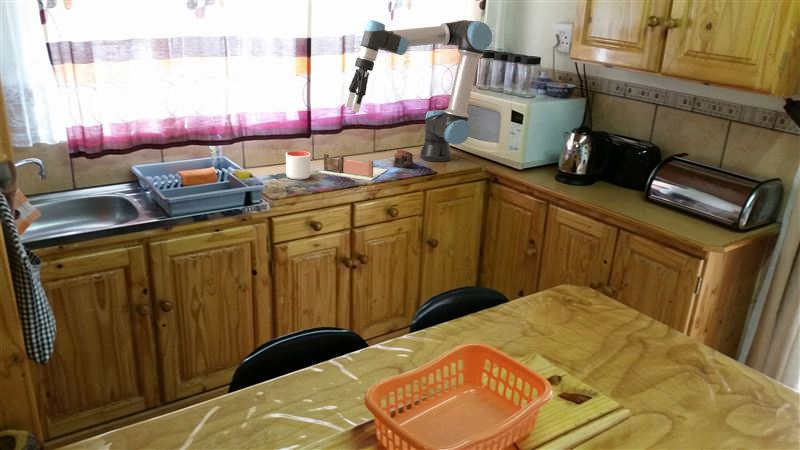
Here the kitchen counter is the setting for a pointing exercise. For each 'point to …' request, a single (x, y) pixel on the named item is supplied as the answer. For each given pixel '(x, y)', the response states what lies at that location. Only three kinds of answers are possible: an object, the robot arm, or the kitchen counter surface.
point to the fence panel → (358, 167)
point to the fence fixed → (333, 163)
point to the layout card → (364, 177)
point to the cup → (298, 165)
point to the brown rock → (402, 159)
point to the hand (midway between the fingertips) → (351, 109)
